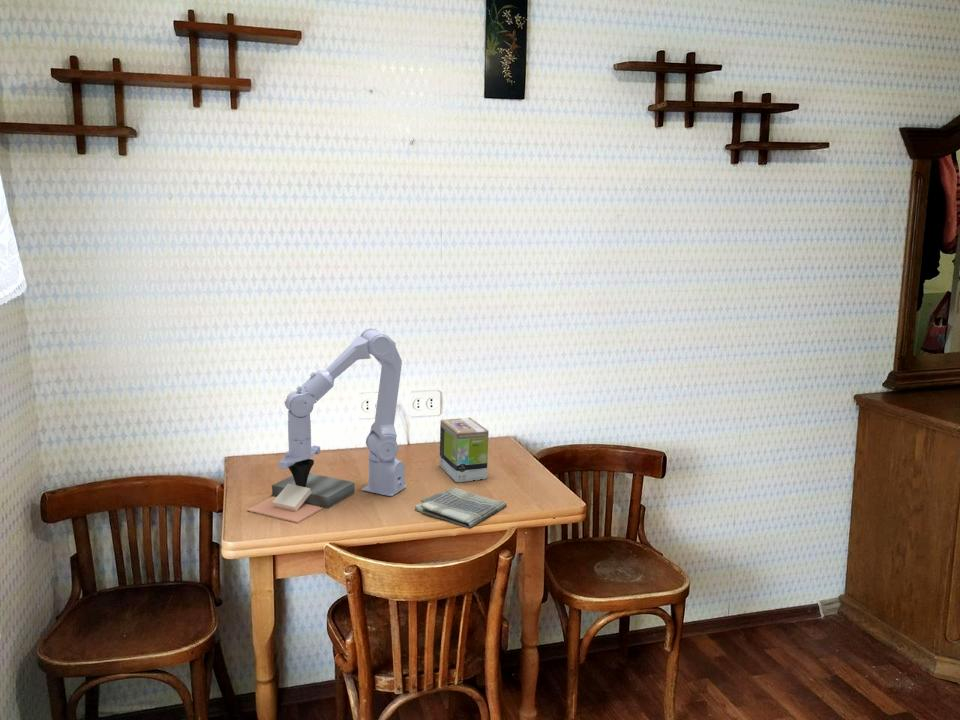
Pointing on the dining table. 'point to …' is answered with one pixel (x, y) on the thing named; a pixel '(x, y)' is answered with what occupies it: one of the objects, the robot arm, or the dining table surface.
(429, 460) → the dining table surface
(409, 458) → the dining table surface
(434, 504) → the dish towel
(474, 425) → the tea box
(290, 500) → the coaster
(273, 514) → the mat
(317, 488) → the plate
